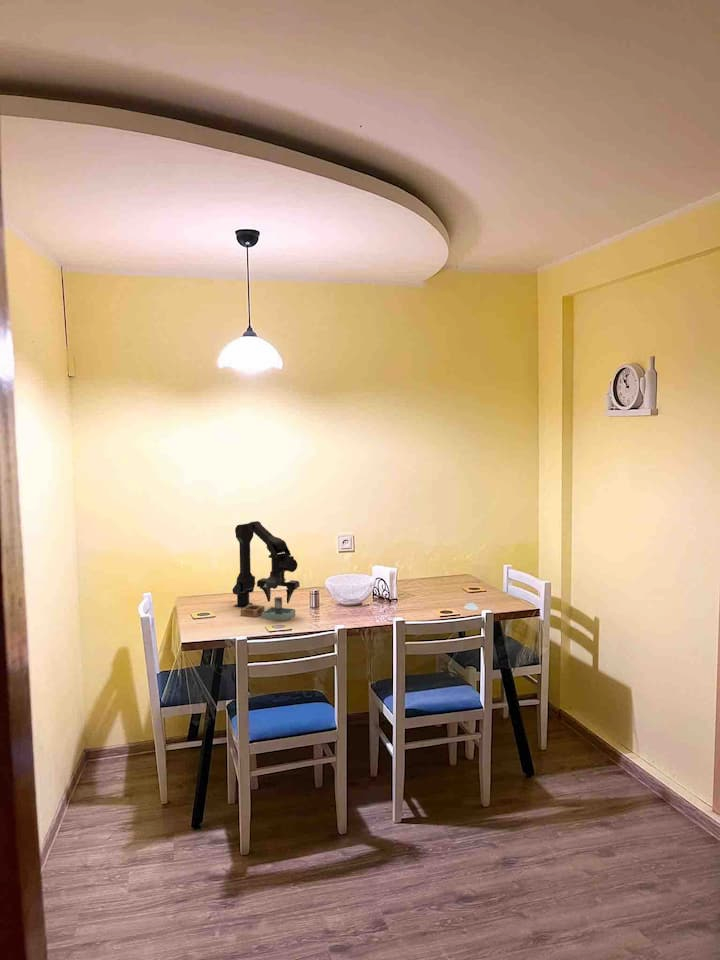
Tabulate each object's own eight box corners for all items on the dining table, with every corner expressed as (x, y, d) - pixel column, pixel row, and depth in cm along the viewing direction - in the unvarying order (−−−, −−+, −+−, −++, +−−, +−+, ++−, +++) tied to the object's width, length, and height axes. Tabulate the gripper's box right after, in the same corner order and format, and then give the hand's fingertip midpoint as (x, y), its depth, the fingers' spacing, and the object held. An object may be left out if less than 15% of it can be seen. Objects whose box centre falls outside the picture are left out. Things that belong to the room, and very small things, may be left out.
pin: (276, 613, 299) (276, 596, 299) (283, 614, 298) (283, 597, 298) (273, 616, 296) (273, 598, 295) (280, 616, 295) (280, 599, 294)
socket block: (248, 610, 306) (248, 604, 306) (264, 612, 304) (264, 606, 304) (240, 615, 299) (240, 609, 298) (256, 617, 296) (256, 610, 296)
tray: (271, 612, 304) (271, 606, 304) (295, 614, 300) (295, 609, 300) (261, 618, 294) (261, 612, 294) (286, 620, 291) (286, 615, 290)
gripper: (250, 571, 290) (251, 605, 292) (289, 573, 285) (290, 609, 286) (262, 565, 301) (262, 599, 302) (299, 568, 295) (300, 602, 297)
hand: (278, 602), depth 297 cm, fingers open, 9 cm apart
